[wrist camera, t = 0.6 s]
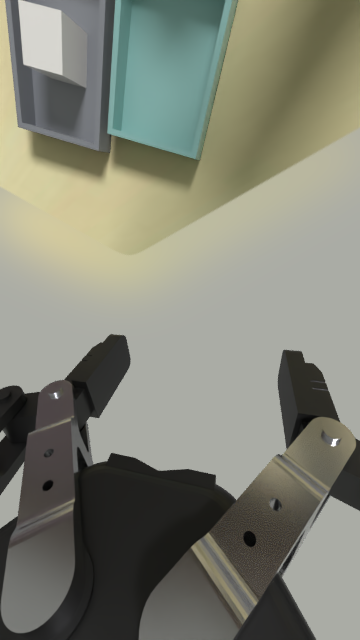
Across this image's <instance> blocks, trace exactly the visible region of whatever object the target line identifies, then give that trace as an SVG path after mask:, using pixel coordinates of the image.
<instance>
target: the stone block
mask: <svg viewBox="0 0 360 640" xmlns="http://www.w3.org/2000/svg"><path fill="white" fill-rule="evenodd" d="M18 5H19V17H20V29H21V41H22V53H23V64H24V65H26V66H28V67H30V68H32V69H34V70H36V71H38V72H40V73H42V74H44V75H46V76H48V77H50V78H52V79H55V80H59V81H62V82H66V83H69V84H73V85H77V86H80V87H84V88H86V78H87V33H86V32H85V31H84V30H83V29H81V28H80V27H79V26H78V25H77V24H76V23H75V22H74V21H72V20H71V19H70V18H69V17H68V16H67V15H66V14H65V13H63V12H62V11H61V10H57V9H53V8H50V7H46V6H42V5H38V4H34V3H30V2H26V1H23V0H18Z"/></svg>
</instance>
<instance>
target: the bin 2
mask: <svg viewBox="0 0 360 640" xmlns="http://www.w3.org/2000/svg"><path fill="white" fill-rule="evenodd" d="M237 3H238V0H115V14H114V31H113V47H112V64H111V81H110V97H109V114H108V131H107V133H108V134H111V135H114V136H118V137H121V138H125V139H128V140H131V141H135V142H138V143H142V144H145V145H149V146H152V147H155V148H159V149H162V150H166V151H169V152H173V153H176V154H179V155H183V156H186V157H190V158H193V159H196V160H200V157H201V153H202V149H203V145H204V140H205V136H206V132H207V128H208V124H209V120H210V115H211V111H212V107H213V103H214V99H215V95H216V91H217V86H218V82H219V78H220V74H221V70H222V66H223V61H224V57H225V53H226V49H227V45H228V41H229V36H230V32H231V28H232V24H233V20H234V16H235V12H236V7H237Z"/></svg>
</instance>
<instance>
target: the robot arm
mask: <svg viewBox="0 0 360 640" xmlns="http://www.w3.org/2000/svg"><path fill="white" fill-rule="evenodd" d="M129 366H130V354H129V349H128V345H127V340H126V337H125V336H124V335H113V334H111V335H109V336H108V337H107V338H106V340H105V341H104V342H103V343H99V344H98V345H96V346H95V347H93V348H92V349H91V350H90V351H89V352H88V354H87V355H86V356H85V357H84V358H83V359H82V361H80V363H79V364H78V365H77V366H76V367H75V368H74V369H73V370H72V372H71V373H70V374H69V375H68V376H67V377H66V378H65V380H59V381H55V382H52V383H50V384H49V385H47V386H46V387H44V388H43V389H42V390H41V392H36V393H27V394H24V392H23V390H22V389H21V388H20V387H19V386H8V387H5V388H3V389H0V432H1V431H2V430H3V431H4V433H5V434H6V436H5V437H4V438H3V440H2V441H1V442H0V495H1V493H2V492H3V491H4V489H5V488H6V486H7V485H8V484H9V482H10V481H11V479H12V478H13V477H14V475H15V474H16V472H17V471H18V469H19V468H20V467H21V465H22V464H23V462H24V469H23V477H22V486H21V495H20V502H19V511H18V516H17V517H16V518H14V519H13V520H12V521H10V522H9V523H8V524H6V525H5V526H3V527H2V528H1V529H0V640H316V638H315V637H314V635H313V633H312V631H311V629H310V628H309V626H308V624H307V622H306V620H305V619H304V617H303V615H302V613H301V611H300V610H299V608H298V606H297V604H296V602H295V600H294V599H293V597H292V595H291V593H290V591H289V590H288V588H287V586H286V584H285V582H284V580H283V579H282V576H283V575H284V573H285V572H286V570H287V568H288V567H289V565H290V563H291V562H292V560H293V558H294V557H295V555H296V553H297V552H298V550H299V548H300V546H301V545H302V543H303V541H304V539H305V538H306V536H307V534H308V532H309V531H310V529H311V527H312V526H313V524H314V522H315V521H316V519H317V518H318V516H319V514H320V513H321V511H322V509H323V507H324V506H325V504H326V503H327V501H328V499H329V498H330V496H333V497H334V498H336V499H338V500H340V501H342V502H344V503H346V504H348V505H350V506H352V507H353V508H356V509H358V510H359V511H360V441H359V440H357V439H355V437H354V436H353V434H352V432H351V431H350V430H349V429H348V428H347V427H346V426H345V425H343V424H342V423H340V420H339V418H338V415H337V412H336V410H335V407H334V404H333V401H332V399H331V396H330V393H329V391H328V388H327V385H326V383H325V379H324V377H323V374H322V372H321V371H320V370H319V369H318V368H317V367H316V366H315V365H314V364H312V363H305V361H304V358H303V354H302V352H301V351H290V350H283V353H282V359H281V364H280V369H279V375H278V390H279V398H280V405H281V412H282V419H283V426H284V433H285V440H286V448H287V450H286V451H285V453H284V454H283V455H279V454H278V455H276V456H275V457H274V458H273V459H272V460H271V461H270V462H269V463H268V464H267V466H266V467H265V468H264V469H263V470H262V471H261V473H260V474H259V475H258V476H257V477H256V478H255V479H254V481H253V482H252V483H251V484H250V485H249V487H248V488H247V489H246V490H245V491H244V492H243V493H242V494H241V496H240V497H239V498H238V499H237V500H236V499H235V498H234V497H233V496H232V495H231V494H230V493H228V492H227V491H226V490H224V489H223V488H222V487H220V486H218V485H216V475H213V474H208V473H203V472H199V471H194V470H189V469H184V470H167V471H158V470H156V469H154V468H152V467H150V466H149V465H147V464H145V463H143V462H141V461H140V460H138V459H136V458H133V457H128V456H123V455H119V454H114V453H111V455H110V457H109V459H108V461H107V462H101V463H97V464H93V461H92V455H91V447H90V440H89V431H88V424H87V422H86V421H87V420H88V418H89V417H96V418H99V417H100V415H101V413H102V412H103V410H104V408H105V407H106V405H107V403H108V402H109V400H110V399H111V397H112V395H113V394H114V392H115V390H116V389H117V387H118V385H119V383H120V382H121V380H122V379H123V377H124V375H125V374H126V372H127V370H128V368H129Z"/></svg>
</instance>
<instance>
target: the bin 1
mask: <svg viewBox="0 0 360 640" xmlns="http://www.w3.org/2000/svg"><path fill="white" fill-rule="evenodd" d="M23 1H26V2H30V3H34V4H38V5H42V6H46V7H50V8H53V9H57V10H61V11H62V12H63V13H65V14H66V15H67V16H68V17H69V18H70V19H71V20H72V21H74V22H75V23H76V24H77V25H78V26H79V27H80V28H81V29H83V30H84V31H85V32H86V33H87V78H86V88H84V87H80V86H77V85H73V84H69V83H66V82H62V81H59V80H55V79H52V78H50V77H48V76H46V75H44V74H42V73H40V72H38V71H36V70H34V69H32V68H30V67H28V66H26V65H24V64H23V53H22V41H21V29H20V17H19V5H18V0H5V3H6V13H7V23H8V33H9V42H10V52H11V62H12V72H13V82H14V91H15V101H16V111H17V121H18V127H20V128H23V129H26V130H30V131H33V132H36V133H40V134H43V135H47V136H50V137H53V138H57V139H60V140H63V141H67V142H70V143H73V144H77V145H80V146H83V147H87V148H90V149H94V150H97V151H102V152H108V153H110V146H111V134H108V133H107V131H108V114H109V97H110V81H111V64H112V47H113V31H114V14H115V0H23Z"/></svg>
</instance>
